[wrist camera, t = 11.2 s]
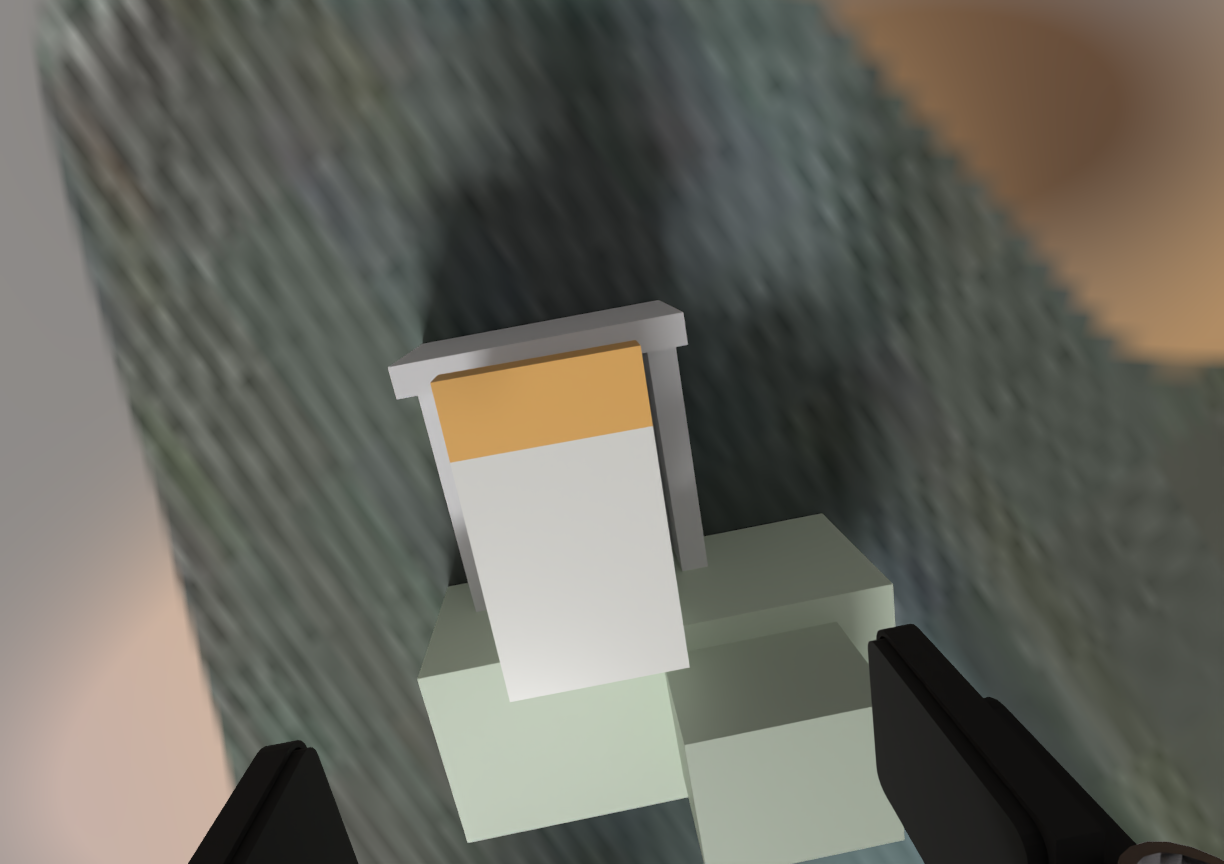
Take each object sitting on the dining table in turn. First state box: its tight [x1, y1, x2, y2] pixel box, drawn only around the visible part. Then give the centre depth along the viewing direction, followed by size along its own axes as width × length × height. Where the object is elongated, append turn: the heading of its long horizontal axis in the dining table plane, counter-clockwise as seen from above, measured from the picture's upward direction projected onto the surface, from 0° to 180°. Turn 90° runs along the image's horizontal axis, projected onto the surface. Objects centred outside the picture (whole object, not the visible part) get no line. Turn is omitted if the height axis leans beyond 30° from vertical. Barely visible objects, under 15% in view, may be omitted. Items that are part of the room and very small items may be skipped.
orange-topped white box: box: [430, 340, 690, 702], centre depth 21 cm, size 5×9×9 cm, turn 9°
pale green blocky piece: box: [388, 300, 905, 864], centre depth 22 cm, size 16×17×10 cm
